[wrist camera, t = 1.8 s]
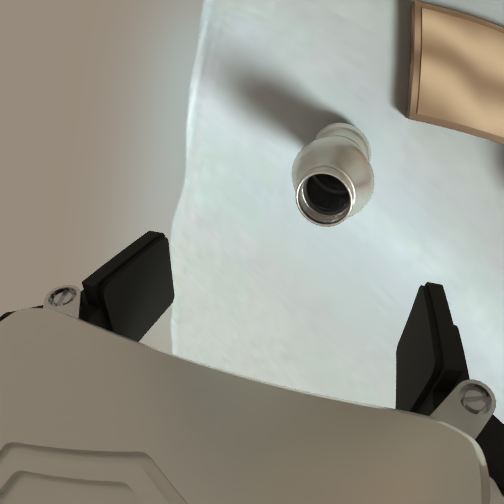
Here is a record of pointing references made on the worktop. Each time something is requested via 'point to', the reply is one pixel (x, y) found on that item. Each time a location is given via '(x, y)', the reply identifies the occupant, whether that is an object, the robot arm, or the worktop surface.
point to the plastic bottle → (333, 175)
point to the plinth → (456, 72)
